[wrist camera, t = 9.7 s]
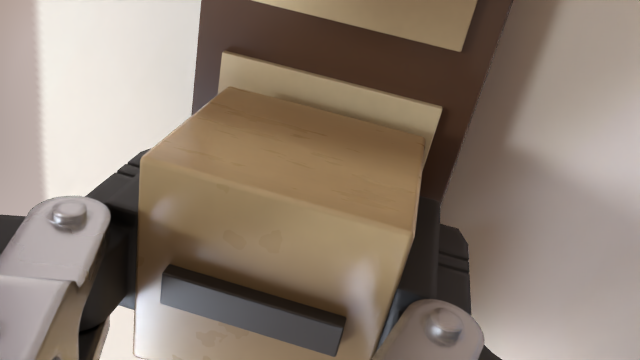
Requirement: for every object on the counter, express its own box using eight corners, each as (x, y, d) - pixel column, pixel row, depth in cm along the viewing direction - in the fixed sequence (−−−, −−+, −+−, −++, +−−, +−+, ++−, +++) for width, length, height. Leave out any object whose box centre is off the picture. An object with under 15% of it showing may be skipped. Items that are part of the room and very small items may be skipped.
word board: (251, -356, 10) (229, -385, 9) (607, -290, 10) (626, -314, 9) (178, 377, 20) (163, 404, 19) (355, 434, 19) (349, 464, 18)
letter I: (228, 83, 12) (127, 164, 8) (427, 135, 12) (414, 245, 8) (209, 246, 14) (123, 369, 11) (377, 296, 14) (348, 441, 10)
